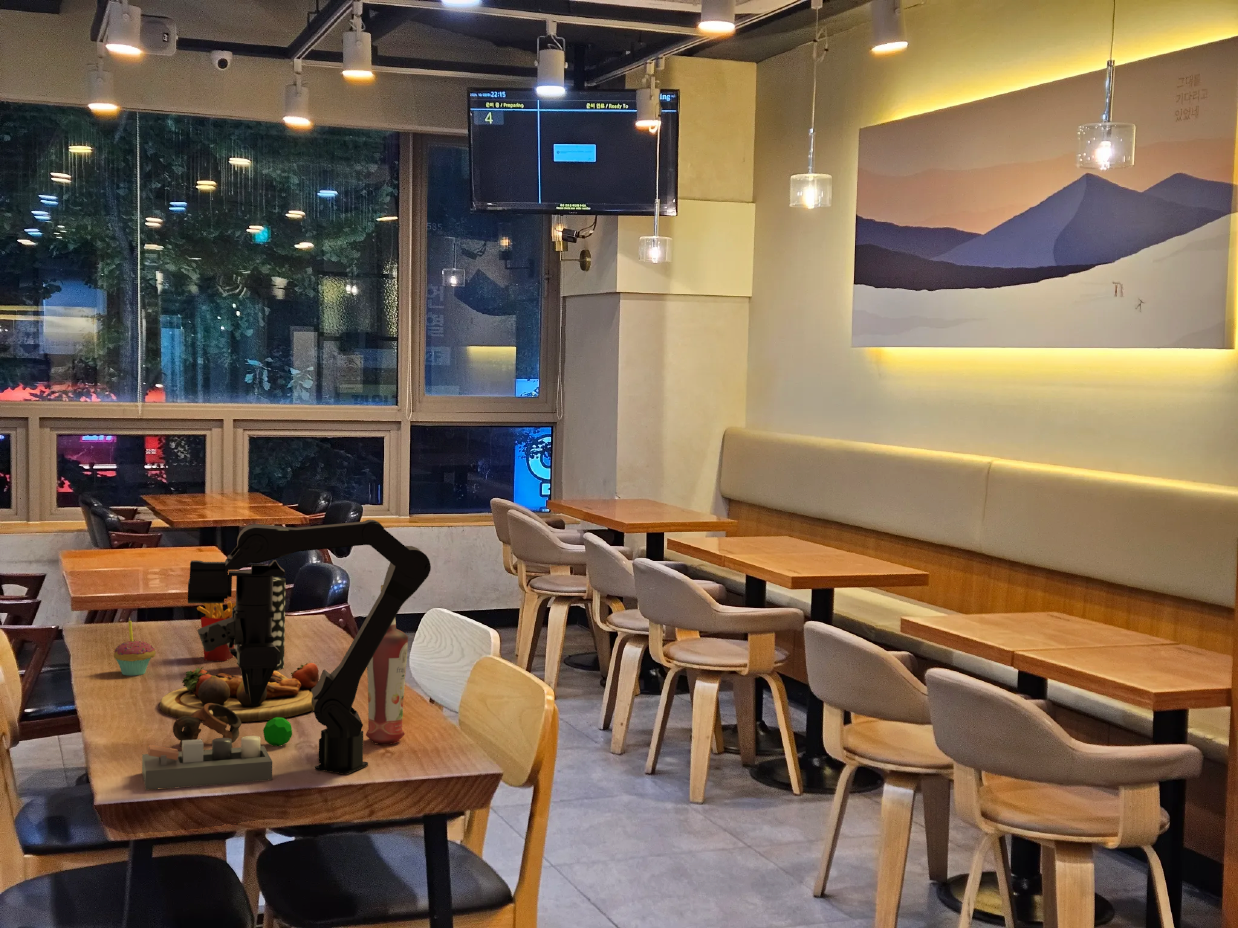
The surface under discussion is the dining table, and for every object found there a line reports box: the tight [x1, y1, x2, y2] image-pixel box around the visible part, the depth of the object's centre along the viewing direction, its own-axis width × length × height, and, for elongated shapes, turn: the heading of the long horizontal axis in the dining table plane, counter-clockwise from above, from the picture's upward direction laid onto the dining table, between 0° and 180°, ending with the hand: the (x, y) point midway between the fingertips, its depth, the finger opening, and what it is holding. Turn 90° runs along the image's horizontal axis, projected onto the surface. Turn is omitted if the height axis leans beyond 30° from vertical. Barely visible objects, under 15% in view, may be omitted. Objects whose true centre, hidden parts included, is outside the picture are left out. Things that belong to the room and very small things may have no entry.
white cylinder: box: [240, 735, 261, 758], centre depth 214 cm, size 3×3×3 cm
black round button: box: [211, 737, 233, 761], centre depth 212 cm, size 3×3×3 cm
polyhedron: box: [262, 717, 293, 747], centre depth 231 cm, size 5×5×5 cm
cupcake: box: [113, 617, 157, 677], centre depth 287 cm, size 9×8×12 cm
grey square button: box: [181, 738, 204, 763], centre depth 210 cm, size 3×3×3 cm
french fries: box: [196, 600, 236, 662], centre depth 304 cm, size 9×8×15 cm
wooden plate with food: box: [159, 662, 320, 724], centre depth 262 cm, size 32×32×8 cm
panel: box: [141, 745, 273, 791], centre depth 211 cm, size 19×10×4 cm, turn 113°
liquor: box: [365, 584, 409, 746], centre depth 235 cm, size 7×7×28 cm
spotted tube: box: [272, 576, 286, 671], centre depth 296 cm, size 8×8×20 cm
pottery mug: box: [172, 703, 242, 748], centre depth 229 cm, size 12×10×8 cm
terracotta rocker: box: [147, 744, 179, 760], centre depth 209 cm, size 4×3×1 cm, turn 112°
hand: (251, 699), depth 214 cm, fingers open, 8 cm apart
